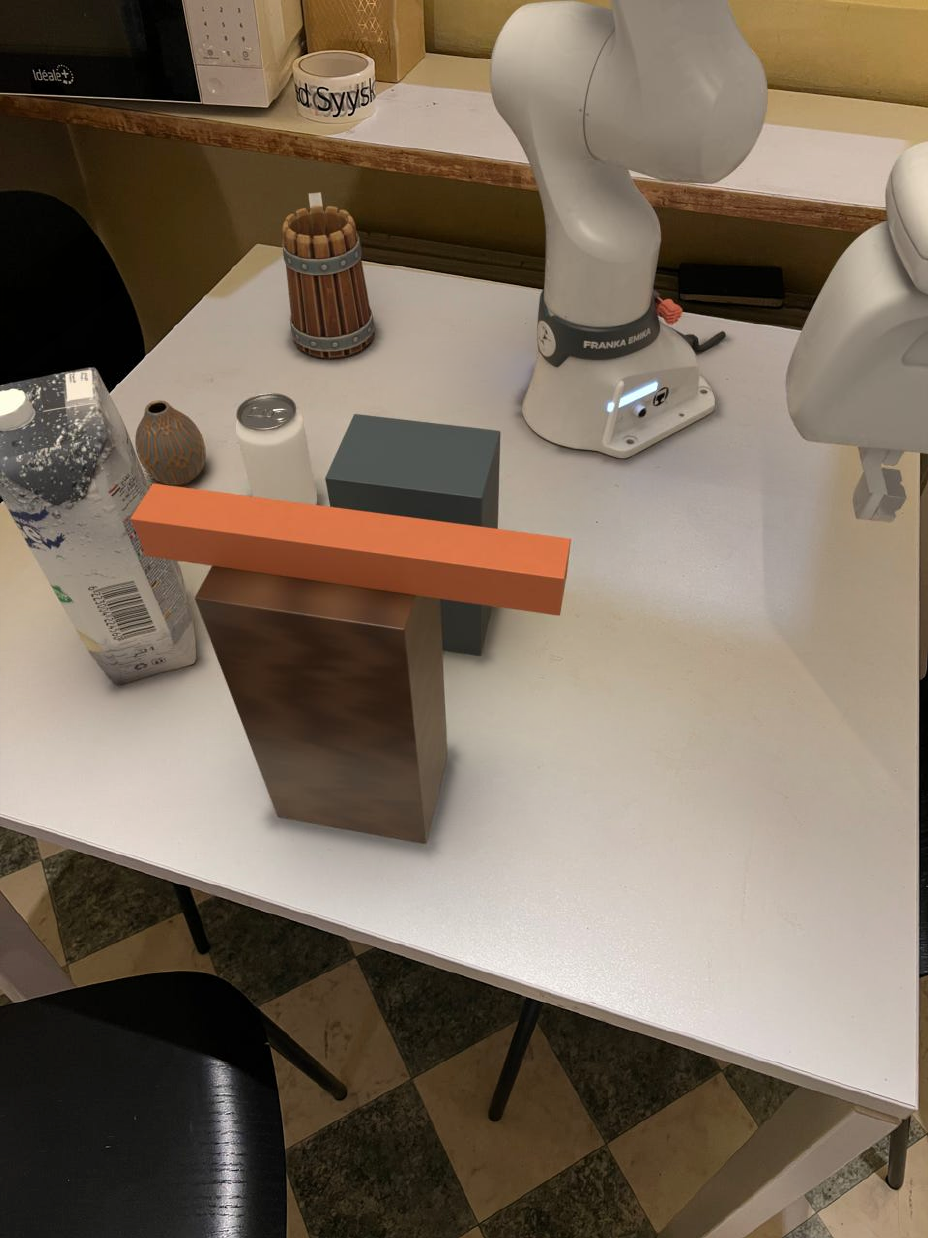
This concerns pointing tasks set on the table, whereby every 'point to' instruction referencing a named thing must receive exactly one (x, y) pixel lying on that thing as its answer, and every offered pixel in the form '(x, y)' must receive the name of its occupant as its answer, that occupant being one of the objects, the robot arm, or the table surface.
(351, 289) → the mug
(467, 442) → the lower stand
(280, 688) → the tall stand
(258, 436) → the can
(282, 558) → the rod
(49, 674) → the table surface
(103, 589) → the juice carton
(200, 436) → the vase
